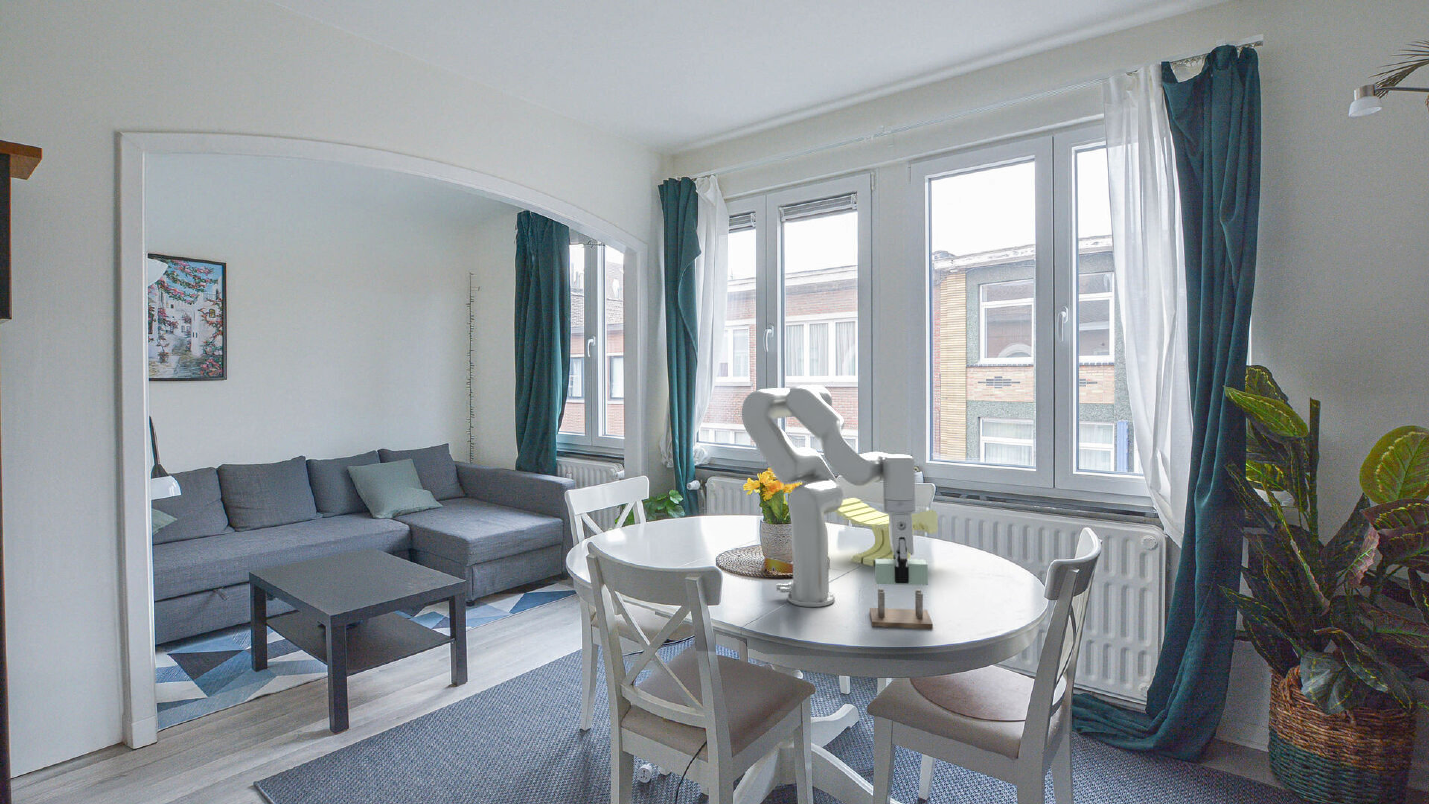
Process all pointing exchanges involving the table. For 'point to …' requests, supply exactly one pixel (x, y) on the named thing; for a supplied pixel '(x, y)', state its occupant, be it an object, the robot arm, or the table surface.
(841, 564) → the table surface
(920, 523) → the slatted curved stool
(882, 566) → the mint green rectangular block
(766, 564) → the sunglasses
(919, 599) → the peg stand
